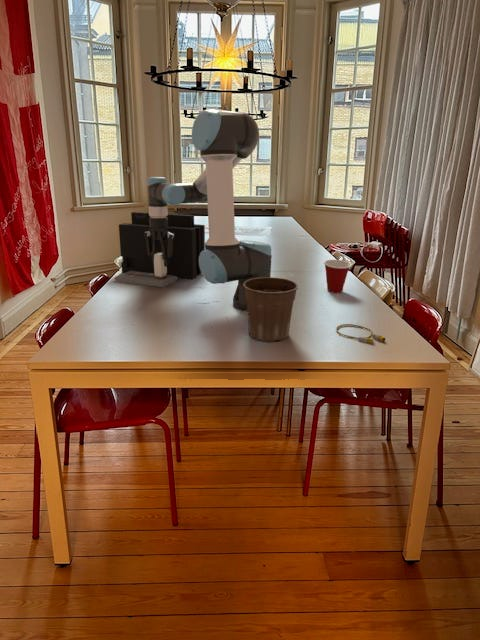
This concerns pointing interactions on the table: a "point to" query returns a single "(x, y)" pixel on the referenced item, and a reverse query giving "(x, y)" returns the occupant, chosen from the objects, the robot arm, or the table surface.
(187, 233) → the game console
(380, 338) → the looped cable
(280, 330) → the plant pot
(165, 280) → the fader panel
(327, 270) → the plastic cup
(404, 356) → the table surface
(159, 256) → the fader
